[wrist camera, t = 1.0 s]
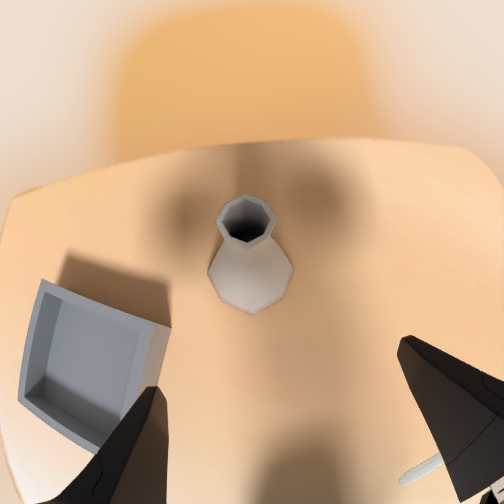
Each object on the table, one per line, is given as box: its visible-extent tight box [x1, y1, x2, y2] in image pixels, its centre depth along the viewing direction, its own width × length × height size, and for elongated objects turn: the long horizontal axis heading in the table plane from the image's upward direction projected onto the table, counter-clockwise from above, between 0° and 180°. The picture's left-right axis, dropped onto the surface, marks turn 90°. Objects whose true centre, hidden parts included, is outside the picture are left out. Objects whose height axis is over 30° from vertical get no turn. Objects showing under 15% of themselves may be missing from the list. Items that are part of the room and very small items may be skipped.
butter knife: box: [399, 453, 444, 486], centre depth 17 cm, size 1×27×3 cm
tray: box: [18, 279, 171, 454], centre depth 19 cm, size 13×13×4 cm
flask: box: [207, 194, 294, 315], centre depth 20 cm, size 7×7×10 cm
